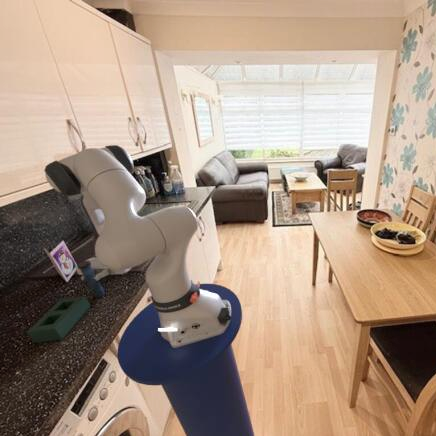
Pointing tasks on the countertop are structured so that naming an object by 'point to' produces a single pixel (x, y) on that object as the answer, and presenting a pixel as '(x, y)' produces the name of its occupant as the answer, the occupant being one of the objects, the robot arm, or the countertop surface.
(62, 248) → the greeting card
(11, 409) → the countertop surface
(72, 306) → the holder
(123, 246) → the robot arm
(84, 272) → the handle
